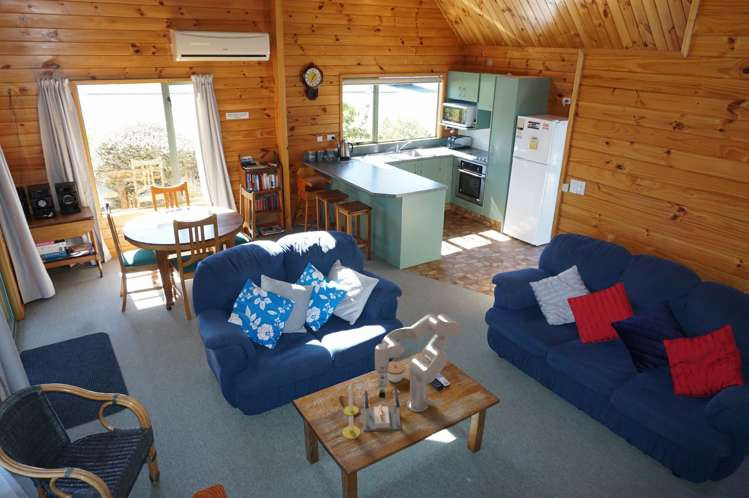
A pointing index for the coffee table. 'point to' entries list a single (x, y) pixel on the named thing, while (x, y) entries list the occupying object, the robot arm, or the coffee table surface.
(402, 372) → the lidded bowl
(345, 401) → the sunglasses case
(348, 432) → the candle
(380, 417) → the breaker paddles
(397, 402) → the dark gray rod
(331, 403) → the coffee table surface
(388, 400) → the coffee table surface
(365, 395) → the dark grey rod
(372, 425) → the board
